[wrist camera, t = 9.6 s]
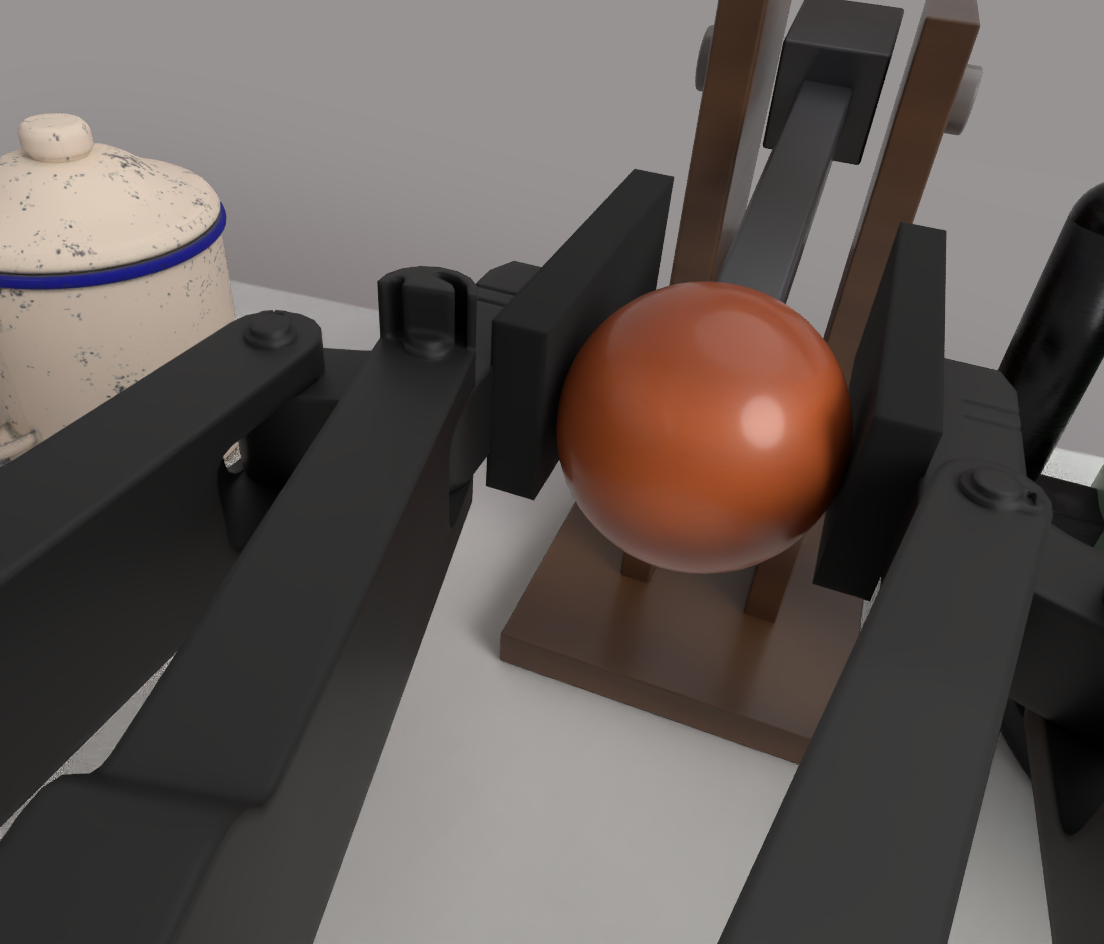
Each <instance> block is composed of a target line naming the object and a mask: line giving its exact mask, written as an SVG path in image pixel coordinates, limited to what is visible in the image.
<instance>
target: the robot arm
mask: <svg viewBox="0 0 1104 944" xmlns="http://www.w3.org/2000/svg"><path fill="white" fill-rule="evenodd" d="M673 182H674V177H673V176H667V175H663V174H658V173H652V172H648V171H643V170H637V169H634V170H633V171H632V172H631V173H630V175H628V177H627V178H626V179H625V180H624V181H623V182H622V183H621V184H620V185H619V186H618V187H617V188H616V189H615V190H614V191H613V192H612V193H611V195H610V196H609V197H608V198H607V199H606V200H605V201H604V202H603V203H602V204H601V205H600V206H599V207H598V208H597V209H596V211H594V213H593V214H592V215H591V216H590V217H589V218H588V219H587V220H586V221H585V222H584V223H583V224H582V225H581V226H580V227H579V228H578V229H577V231H576V232H575V233H574V234H573V235H572V236H571V237H570V238H569V239H568V240H567V241H566V242H565V243H564V244H563V245H562V246H561V247H560V249H559V250H558V251H557V252H556V253H555V254H554V255H553V256H552V257H551V258H550V259H549V260H548V261H547V262H546V263H545V264H544V265H543V267H538V266H534V265H529V264H525V263H520V262H516V261H513V262H510V263H507V264H505V265H502V266H500V267H497V268H494V269H492V270H490V271H489V272H488V273H486V274H485V275H484V276H483V277H482V278H481V279H480V280H479V281H478V282H477V283H476V284H475V283H474V282H473V280H472V279H471V278H470V277H468V276H466V275H463V274H462V273H460V272H458V271H454V270H450V269H446V268H441V267H426V266H418V267H410V268H402V269H399V270H397V271H393V272H391V273H388V274H386V275H385V276H384V277H382V278H381V279H380V280H379V281H377V282H378V283H377V284H378V303H379V321H380V339H379V340H378V342H377V343H376V345H375V346H374V348H373V350H372V351H359V350H345V349H330V348H323V342H322V332H321V328H320V326H319V325H318V324H317V323H316V322H315V321H314V320H313V319H310V318H308V317H306V316H304V315H301V314H297V313H291V312H287V311H281V310H275V311H274V312H273V310H269V311H262V312H260V313H256V314H251V315H246V316H244V317H242V318H239V319H237V320H235V321H233V322H230V323H229V324H227V325H226V326H224V327H223V328H221V329H219V330H218V331H216V332H215V333H213V334H212V335H210V336H208V337H207V338H205V339H204V340H202V341H200V342H199V343H197V344H196V345H194V346H193V347H191V348H189V349H188V350H186V351H185V352H183V353H182V354H180V355H178V356H177V357H175V358H174V359H172V360H171V361H169V362H167V363H166V364H164V365H163V366H161V367H159V368H158V369H156V370H155V371H153V372H152V373H150V374H148V375H147V376H145V377H144V378H142V379H141V380H139V381H137V382H136V383H134V384H133V385H131V386H129V387H128V388H126V389H125V390H123V391H122V392H120V393H118V394H117V395H115V396H114V397H112V398H111V399H109V400H107V401H106V402H104V403H103V404H101V405H99V406H98V407H96V408H95V409H93V410H92V411H90V412H88V413H87V414H85V415H84V416H82V417H81V418H79V419H77V420H76V421H74V422H73V423H71V424H70V425H68V426H66V427H65V428H63V429H62V430H60V431H58V432H57V433H55V434H54V435H52V436H51V437H49V438H47V439H46V440H44V441H43V442H41V443H40V444H38V445H36V446H35V447H33V448H32V449H30V450H28V451H27V452H25V453H24V454H22V455H21V456H19V457H17V458H16V459H14V460H13V461H11V462H10V463H8V464H6V465H5V466H3V467H2V468H0V827H1V826H2V825H3V824H4V823H5V822H6V821H7V820H8V819H9V818H10V817H11V816H12V815H13V814H14V813H15V812H16V811H17V810H18V809H19V808H20V807H21V806H22V805H23V804H24V803H25V802H26V801H27V800H28V799H29V798H30V797H31V796H32V795H33V794H34V793H35V792H36V791H37V790H38V789H39V788H40V787H41V786H42V785H43V784H44V783H45V782H46V781H47V780H48V779H49V778H50V777H51V776H52V775H53V774H54V773H55V772H56V771H57V770H58V769H59V768H60V767H61V766H62V765H63V764H64V763H65V762H66V761H67V760H68V759H69V758H70V757H71V756H72V755H73V754H74V753H75V752H76V751H77V750H78V749H79V748H80V747H81V746H82V745H83V744H84V743H85V742H86V741H87V740H88V739H89V738H90V737H91V736H92V735H93V734H94V733H95V732H96V731H97V730H98V729H99V728H100V727H101V726H102V725H103V724H104V723H105V722H106V721H107V720H108V719H109V718H110V717H111V716H112V715H113V714H114V713H115V712H117V711H118V710H119V709H120V708H121V707H122V706H123V705H124V704H125V703H126V702H127V701H128V700H129V699H130V698H131V697H132V696H133V695H134V694H135V693H136V692H137V691H138V690H139V689H140V688H141V687H142V686H143V685H144V684H145V683H146V682H147V681H148V680H149V679H150V678H151V677H152V676H153V675H154V674H155V673H156V672H157V671H158V670H159V669H160V668H161V667H162V666H163V665H164V664H165V663H166V662H167V661H168V660H169V659H170V658H171V657H172V656H173V655H174V654H175V653H176V652H177V653H176V654H175V656H174V657H173V659H172V660H171V662H170V664H169V665H168V667H167V668H166V670H165V671H164V673H163V674H162V676H161V678H160V679H159V681H158V682H157V684H156V685H155V687H154V688H153V690H152V691H151V693H150V695H149V696H148V698H147V699H146V701H145V702H144V704H143V705H142V707H141V708H140V710H139V712H138V713H137V715H136V716H135V718H134V719H133V721H132V722H131V724H130V725H129V727H128V729H127V730H126V732H125V733H124V735H123V736H122V738H121V739H120V741H119V742H118V744H117V746H116V747H115V749H114V750H113V752H112V753H111V754H110V756H109V757H108V758H107V759H106V761H105V762H104V763H103V764H102V765H101V766H100V767H99V768H97V769H96V770H94V771H93V772H91V773H90V774H65V775H61V776H60V777H58V778H57V779H55V780H54V781H52V782H50V783H49V784H47V785H46V786H44V787H43V788H41V790H40V791H39V792H38V793H37V794H36V795H35V797H34V798H33V799H32V800H31V801H30V802H29V803H28V805H27V806H26V807H25V808H24V809H23V810H22V812H21V813H20V814H19V815H18V817H17V818H16V820H15V821H14V823H13V824H12V825H11V827H10V828H9V830H8V831H7V833H6V834H5V835H4V837H3V838H2V840H1V841H0V944H313V942H314V939H315V936H316V933H317V931H318V928H319V925H320V922H321V919H322V917H323V914H324V911H325V908H326V906H327V903H328V900H329V897H330V894H331V892H332V889H333V886H334V883H335V881H336V878H337V875H338V872H339V869H340V867H341V864H342V861H343V858H344V856H345V853H346V850H347V847H348V844H349V842H350V839H351V836H352V833H353V831H354V828H355V825H356V822H357V819H358V817H359V814H360V811H361V808H362V806H363V803H364V800H365V797H366V794H367V792H368V789H369V786H370V783H371V781H372V778H373V775H374V772H375V770H376V767H377V764H378V761H379V758H380V756H381V753H382V750H383V747H384V745H385V742H386V739H387V736H388V733H389V731H390V728H391V725H392V722H393V720H394V717H395V714H396V711H397V708H398V706H399V703H400V700H401V697H402V695H403V692H404V689H405V686H406V683H407V681H408V678H409V675H410V672H411V670H412V667H413V664H414V661H415V658H416V656H417V653H418V650H419V647H420V645H421V642H422V639H423V636H424V633H425V631H426V628H427V625H428V622H429V620H430V617H431V614H432V611H433V608H434V606H435V603H436V600H437V597H438V595H439V592H440V589H441V586H442V583H443V581H444V578H445V575H446V572H447V570H448V567H449V564H450V561H451V558H452V556H453V553H454V550H455V547H456V545H457V542H458V539H459V536H460V533H461V531H462V528H463V525H464V522H465V520H466V517H467V514H468V511H469V508H470V506H471V503H472V494H473V474H474V473H475V472H476V470H477V469H478V468H479V466H480V465H481V464H482V462H483V461H484V460H485V458H486V457H487V471H486V486H488V487H491V488H494V489H498V490H501V491H504V492H508V493H511V494H514V495H518V496H521V497H524V498H528V499H531V500H534V499H535V498H536V496H537V495H538V493H539V491H540V490H541V488H542V487H543V485H544V483H545V482H546V480H547V479H548V477H549V475H550V474H551V472H552V471H553V469H554V468H555V466H556V464H557V463H558V461H559V454H558V447H557V436H556V423H557V411H558V403H559V399H560V395H561V391H562V387H563V384H564V381H565V378H566V375H567V373H568V371H569V369H570V367H571V365H572V363H573V361H574V359H575V357H576V355H577V353H578V352H579V350H580V349H581V347H582V346H583V344H584V343H585V342H586V340H587V339H588V338H589V336H590V335H591V334H592V333H593V332H594V331H595V330H596V328H597V327H598V326H599V325H600V324H601V323H603V322H604V321H605V320H606V319H607V318H608V317H609V316H610V315H612V314H613V313H614V312H615V311H617V310H618V309H619V308H621V307H623V306H624V305H626V304H628V303H629V302H631V301H633V300H635V299H636V298H638V297H640V296H642V295H644V294H646V293H649V292H651V291H655V290H656V286H657V280H658V274H659V268H660V262H661V255H662V249H663V243H664V237H665V230H666V225H667V219H668V212H669V206H670V200H671V194H672V188H673ZM945 280H946V231H945V230H940V229H935V228H930V227H925V226H920V225H915V224H910V223H905V222H900V225H899V228H898V231H897V233H896V236H895V239H894V242H893V245H892V248H891V251H890V254H889V257H888V260H887V263H886V266H885V269H884V272H883V275H882V278H881V281H880V284H879V287H878V290H877V293H876V296H875V299H874V302H873V305H872V308H871V311H870V314H869V317H868V320H867V323H866V326H865V329H864V332H863V335H862V338H861V341H860V344H859V347H858V350H857V353H856V356H855V359H854V364H853V369H852V374H851V380H850V385H849V390H848V391H849V395H850V398H851V407H852V417H853V436H852V446H851V455H850V458H849V462H848V465H847V468H846V472H845V475H844V478H843V481H842V483H841V485H840V487H839V489H838V491H837V493H836V495H835V497H834V499H833V501H832V503H831V504H830V506H829V508H828V509H827V510H826V513H825V518H824V524H823V529H822V534H821V540H820V545H819V550H818V556H817V561H816V566H815V572H814V577H813V582H812V584H814V585H818V586H821V587H824V588H828V589H831V590H834V591H838V592H841V593H844V594H848V595H851V596H854V597H858V598H861V599H864V600H868V601H870V600H871V598H872V595H873V593H874V591H875V588H876V586H877V584H878V581H879V579H880V577H881V584H880V590H879V592H878V594H877V597H876V599H875V601H874V603H873V605H872V607H871V610H870V612H869V614H868V616H867V618H866V621H865V623H864V625H863V627H862V629H861V631H860V634H859V636H858V638H857V640H856V642H855V645H854V647H853V649H852V651H851V653H850V655H849V658H848V660H847V662H846V664H845V666H844V669H843V671H842V673H841V675H840V677H839V679H838V682H837V684H836V686H835V688H834V690H833V693H832V695H831V697H830V699H829V701H828V703H827V706H826V708H825V710H824V712H823V714H822V717H821V719H820V721H819V723H818V725H817V727H816V730H815V732H814V734H813V736H812V738H811V741H810V743H809V745H808V747H807V749H806V751H805V754H804V756H803V758H802V760H801V762H800V765H799V767H798V769H797V771H796V773H795V775H794V778H793V780H792V782H791V784H790V786H789V789H788V791H787V793H786V795H785V797H784V799H783V802H782V804H781V806H780V808H779V810H778V813H777V815H776V817H775V819H774V821H773V823H772V826H771V828H770V830H769V832H768V834H767V837H766V839H765V841H764V843H763V845H762V847H761V850H760V852H759V854H758V856H757V858H756V861H755V863H754V865H753V867H752V869H751V871H750V874H749V876H748V878H747V880H746V882H745V885H744V887H743V889H742V891H741V893H740V895H739V898H738V900H737V902H736V904H735V906H734V909H733V911H732V913H731V915H730V917H729V919H728V922H727V924H726V926H725V928H724V930H723V933H722V935H721V937H720V939H719V941H718V943H717V944H947V943H948V938H949V934H950V930H951V926H952V922H953V918H954V914H955V910H956V906H957V902H958V898H959V894H960V890H961V886H962V882H963V878H964V874H965V870H966V866H967V861H968V857H969V853H970V849H971V845H972V841H973V837H974V833H975V829H976V825H977V821H978V817H979V813H980V809H981V805H982V801H983V797H984V793H985V789H986V784H987V780H988V776H989V772H990V768H991V764H992V760H993V756H994V752H995V748H996V744H997V740H998V736H999V732H1000V728H1001V724H1002V720H1003V716H1004V711H1005V707H1006V703H1007V699H1008V698H1010V699H1012V700H1013V701H1015V702H1017V703H1019V704H1020V705H1022V706H1024V707H1025V712H1024V725H1025V733H1026V741H1027V749H1028V757H1029V764H1030V772H1031V780H1032V788H1033V796H1034V803H1035V811H1036V819H1037V827H1038V835H1039V842H1040V850H1041V858H1042V866H1043V874H1044V881H1045V889H1046V897H1047V905H1048V913H1049V920H1050V928H1051V936H1052V944H1104V552H1102V551H1100V550H1097V549H1095V548H1093V547H1091V546H1089V545H1087V544H1085V543H1083V542H1081V541H1079V540H1077V539H1075V538H1073V537H1071V536H1070V535H1068V534H1066V533H1065V532H1063V531H1062V530H1060V529H1059V528H1058V527H1056V526H1055V525H1053V524H1052V523H1051V521H1052V517H1053V510H1052V503H1051V500H1050V499H1049V498H1048V496H1047V495H1046V494H1045V492H1044V491H1043V490H1042V488H1041V487H1040V486H1038V485H1037V484H1036V483H1034V482H1033V481H1032V480H1030V479H1029V478H1028V477H1027V476H1026V467H1025V458H1024V449H1023V441H1022V432H1020V429H1021V423H1020V416H1019V415H1018V413H1019V406H1018V397H1017V391H1016V390H1015V389H1014V388H1013V387H1012V385H1011V384H1010V383H1009V382H1008V380H1007V379H1006V378H1005V377H1004V375H1003V374H1002V373H1001V372H1000V371H998V370H993V369H989V368H985V367H980V366H976V365H971V364H967V363H963V362H959V361H955V360H950V359H946V358H944V342H945V341H944V340H945V283H946V281H945ZM236 442H238V443H239V449H240V454H241V458H240V459H239V460H238V461H237V462H236V463H234V464H233V465H232V466H230V467H228V468H227V467H226V465H225V463H224V458H223V456H224V455H225V454H226V453H227V452H228V450H229V449H230V448H231V447H232V446H233V445H234V444H235V443H236Z"/></svg>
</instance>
